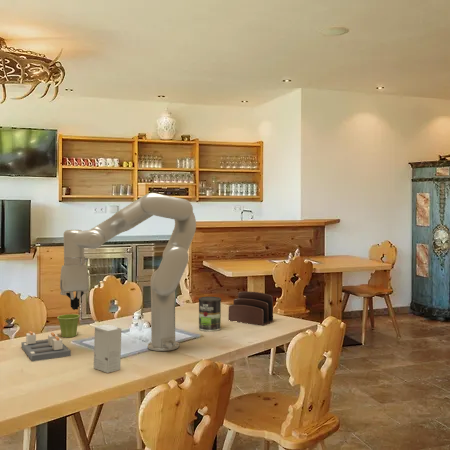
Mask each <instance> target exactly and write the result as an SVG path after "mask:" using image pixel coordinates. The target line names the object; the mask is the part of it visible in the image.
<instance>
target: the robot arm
mask: <svg viewBox="0 0 450 450" xmlns="http://www.w3.org/2000/svg"><path fill="white" fill-rule="evenodd" d="M193 210H194V208H193V205H192V203H191V202H190V201H189V200H188V199H185V198H180V197H177V196H176V197H175V196H171V195H166V194H160V193H158V192H149V193H146V194H145V195H143V196H142V197H140V198H138V199H136V200H135V201H133V202H131V203H130V204H128V205H126V206H124V207H123V208H122V209H119V210H118V211H117V212H115V213H114V214H113V215H111V216H110V217H109V218H107V219H106V220H103V221H102V222H100V223H99V224H97V225H95V226H94V227H92V228H90V229H87V230H81V229H67V230H65V231H64V232H63V265H61V269H60V278H59V280H60V281H59V288H60V295H61V296H66V297H68V298H69V300H70V308H71V310H73V311H75V310H79V307H80V299H81V297H82V296H83V295H86V294H88V293H89V292H90V291H89V285H90V284H89V282H90V281H89V275H88V274H89V273H88V268H87V264H85V263H87V262H89V257H88V258H87V257H85V249H91V250H94V249H99V248H100V247H102V246H103V244H105V243H106V242H108V241H110V240H111V239H113V238H115V237H117V236H119V235H120V234H122V233H124V232H128V231H130V230H131V229H134V228H135V227H136V226H138V225H140V224H141V223H143V222H144V221H146V220H148V219H149V218H151V217H153V216H155V217H160V218H165V219H171V220H174V228H173V229H172V233H171V235H170V238H169V239H168V242H167V244H166V246H165V247H164V249H163V251H162V260H161V261H160V264H159V266H158V268H157V269H156V270H154V272H153V273H152V274H151V277H150V300H151V301H150V303H151V304H150V306H151V307H150V311H151V312H150V323H151V324H150V326H151V327H150V328H151V329H150V330H151V332H150V336H151V341H150V342H149V343H148V344H147V349H149V350H150V351H154V352H168V351H169V352H170V351H174V350H177V349H179V348H180V343H179V342H178V341H176V289H177V288H178V287H179V284H180V282H181V279H182V277H183V275H184V272H185V271H186V268H187V265H188V263H189V249H190V246H191V244H192V242H193V239H194V236H195V234H196V231H197V221H196V220H197V219H196V216H195V213H194V211H193ZM74 292H75V294H74Z"/></svg>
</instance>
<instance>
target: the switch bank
mask: <svg viewBox="0 0 450 450" xmlns="http://www.w3.org/2000/svg"><path fill="white" fill-rule="evenodd" d="M21 348H22V351H23V352H24V353H25V354H26V356H27V357H28V359H29V360H30V361H31V362H37V361H38V362H39V361H44V360H49V359H51V360H52V359H57V358H63V357H64V358H65V357H71V353H72V352H71V351H72V350H70V348H69V347H67V345H65V344H64V343H63V342H62V349H59V350H54V349H53V348H52V346H50V345H49V344H48V338H47V339H38V340H37V339H36V343H34V344H27V342H26V341H23V342H21Z"/></svg>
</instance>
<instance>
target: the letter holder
mask: <svg viewBox="0 0 450 450" xmlns="http://www.w3.org/2000/svg"><path fill="white" fill-rule="evenodd" d="M237 294H238V295H237V296H238V297H237V298H234V299H233V304H231V305H228V316H227V317H228V321H229V320H230V321H229V322H233V321H237V322H236V323H240V322H242V324H247V323H248V324H249V325H254V326H261V327H263V326H266V325H269V324H272V323H273V322H274V303H273V302H274V299H273V296H272V295H271V294H268V293H264V292H259V291H239V292H238V293H237ZM248 324H247V325H248Z"/></svg>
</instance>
